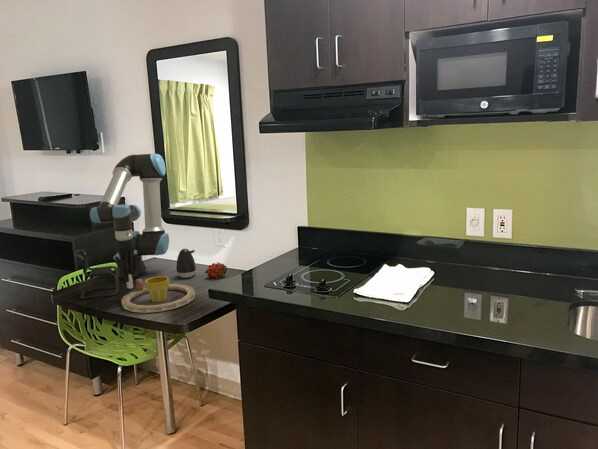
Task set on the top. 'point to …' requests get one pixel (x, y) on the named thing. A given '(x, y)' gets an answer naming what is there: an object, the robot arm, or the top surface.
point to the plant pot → (157, 288)
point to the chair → (97, 274)
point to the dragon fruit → (216, 270)
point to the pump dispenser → (185, 264)
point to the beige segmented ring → (156, 308)
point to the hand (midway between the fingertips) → (130, 287)
